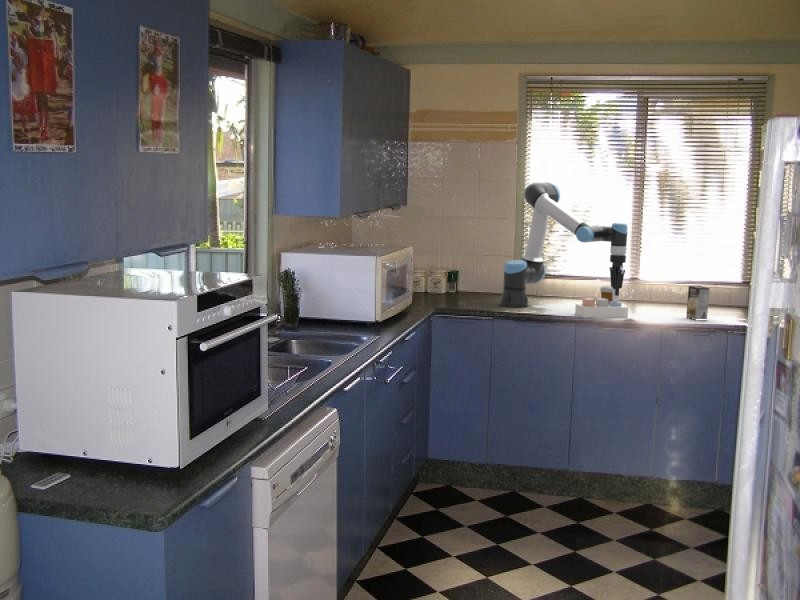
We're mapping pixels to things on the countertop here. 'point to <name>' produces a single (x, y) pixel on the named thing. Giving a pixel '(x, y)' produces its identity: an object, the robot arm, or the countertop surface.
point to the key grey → (601, 302)
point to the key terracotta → (588, 302)
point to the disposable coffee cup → (607, 293)
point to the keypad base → (601, 311)
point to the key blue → (614, 303)
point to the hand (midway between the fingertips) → (615, 301)
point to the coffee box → (697, 302)
